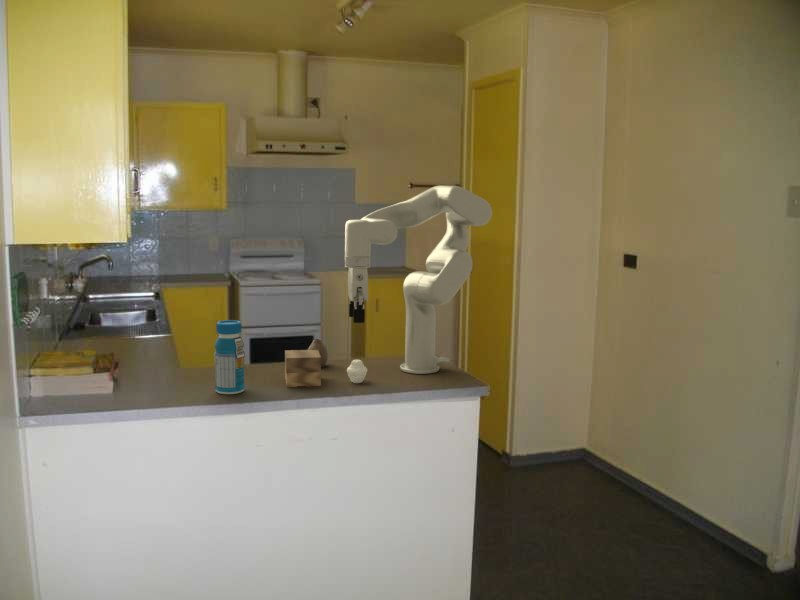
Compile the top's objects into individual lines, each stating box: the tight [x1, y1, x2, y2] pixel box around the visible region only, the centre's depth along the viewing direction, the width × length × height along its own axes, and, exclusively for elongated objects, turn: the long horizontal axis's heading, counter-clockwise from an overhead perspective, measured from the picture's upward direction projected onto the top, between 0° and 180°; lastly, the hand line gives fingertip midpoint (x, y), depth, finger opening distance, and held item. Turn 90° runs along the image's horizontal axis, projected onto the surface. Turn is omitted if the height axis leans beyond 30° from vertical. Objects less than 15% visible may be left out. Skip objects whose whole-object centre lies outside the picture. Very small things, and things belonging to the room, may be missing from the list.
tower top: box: [284, 349, 322, 373], centre depth 225 cm, size 10×10×4 cm
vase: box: [307, 338, 329, 368], centre depth 245 cm, size 7×7×9 cm
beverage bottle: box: [213, 319, 246, 395], centre depth 214 cm, size 8×8×20 cm
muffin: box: [346, 359, 368, 384], centre depth 227 cm, size 6×6×7 cm
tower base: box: [284, 367, 322, 388], centre depth 226 cm, size 10×10×4 cm
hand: (356, 319), depth 225 cm, fingers open, 9 cm apart
